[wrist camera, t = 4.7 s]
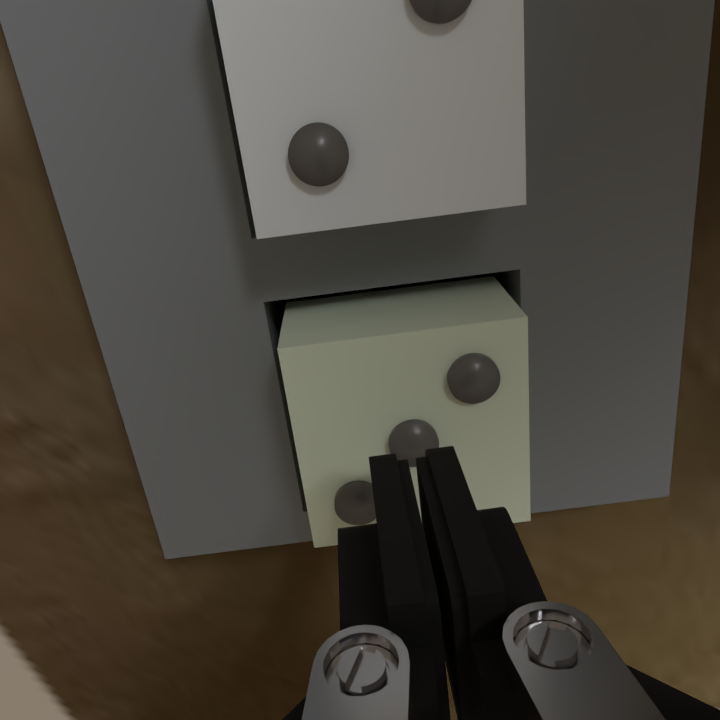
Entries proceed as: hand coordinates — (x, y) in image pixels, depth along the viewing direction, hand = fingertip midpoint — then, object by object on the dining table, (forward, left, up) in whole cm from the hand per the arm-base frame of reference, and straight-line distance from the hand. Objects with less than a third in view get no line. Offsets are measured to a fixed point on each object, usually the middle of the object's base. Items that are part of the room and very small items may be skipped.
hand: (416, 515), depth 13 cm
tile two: (0, -8, -5) cm, 9 cm away
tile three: (0, 0, -5) cm, 5 cm away
